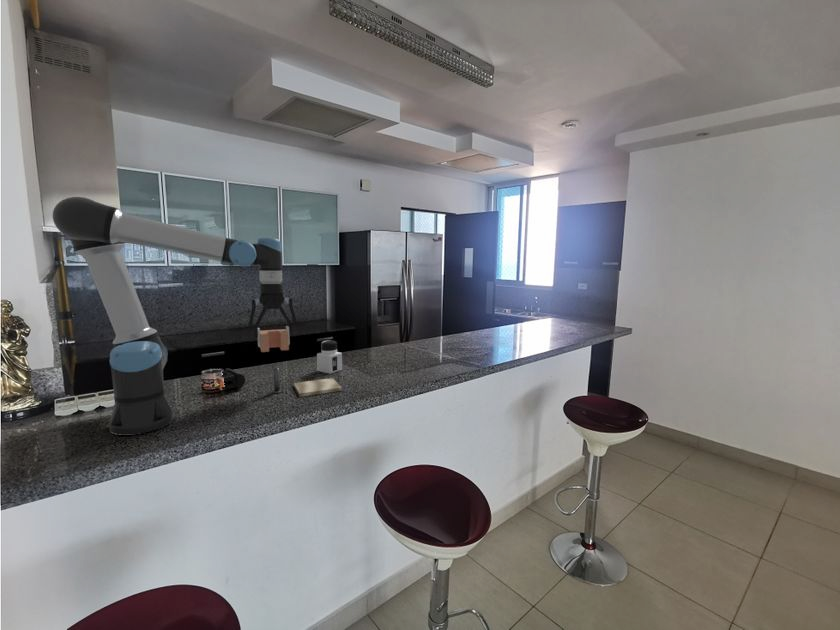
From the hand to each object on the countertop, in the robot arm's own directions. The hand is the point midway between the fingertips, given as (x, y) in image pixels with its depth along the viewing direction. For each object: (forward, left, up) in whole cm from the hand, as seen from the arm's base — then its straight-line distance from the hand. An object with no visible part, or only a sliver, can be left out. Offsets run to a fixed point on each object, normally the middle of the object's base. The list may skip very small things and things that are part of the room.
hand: (273, 345), depth 139 cm
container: (+24, +18, -17) cm, 35 cm away
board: (+14, -4, -17) cm, 22 cm away
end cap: (-15, +10, -17) cm, 25 cm away
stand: (0, -2, -17) cm, 17 cm away
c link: (0, -1, -1) cm, 1 cm away
